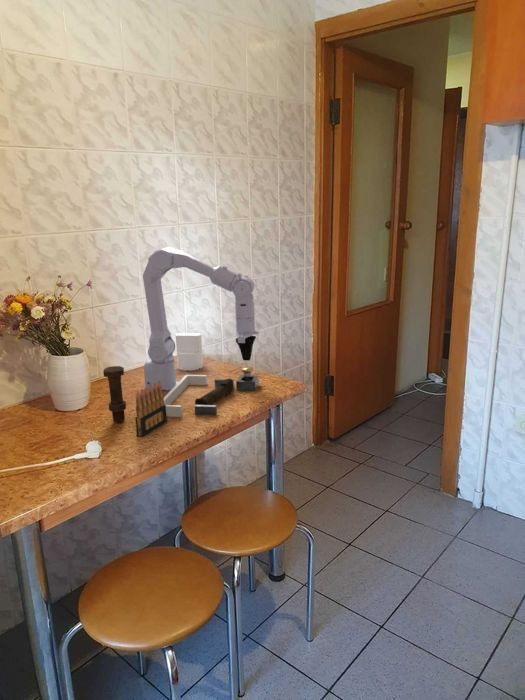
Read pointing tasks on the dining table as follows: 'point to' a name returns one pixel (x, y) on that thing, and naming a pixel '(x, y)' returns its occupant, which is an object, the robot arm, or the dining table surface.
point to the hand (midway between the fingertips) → (246, 359)
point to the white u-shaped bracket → (176, 391)
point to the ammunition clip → (150, 410)
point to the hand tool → (216, 393)
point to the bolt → (116, 392)
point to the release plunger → (247, 373)
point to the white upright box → (189, 351)
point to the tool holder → (240, 386)
